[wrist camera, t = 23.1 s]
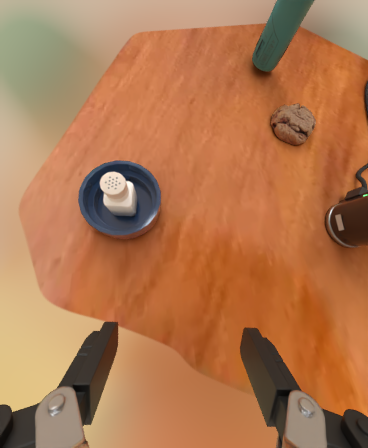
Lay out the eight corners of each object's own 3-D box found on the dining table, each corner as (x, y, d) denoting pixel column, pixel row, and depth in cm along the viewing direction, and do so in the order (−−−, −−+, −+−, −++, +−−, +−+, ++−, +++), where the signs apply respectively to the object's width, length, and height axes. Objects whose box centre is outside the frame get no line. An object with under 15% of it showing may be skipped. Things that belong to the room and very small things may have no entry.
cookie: (317, 130, 43) (329, 120, 40) (291, 153, 40) (301, 145, 37) (288, 101, 44) (298, 89, 41) (260, 122, 41) (268, 111, 38)
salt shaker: (112, 216, 31) (94, 196, 22) (115, 194, 32) (98, 167, 23) (136, 217, 32) (127, 198, 23) (138, 196, 33) (130, 170, 24)
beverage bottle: (276, 76, 45) (366, -66, 26) (254, 81, 43) (332, -65, 24) (265, 55, 46) (343, -96, 26) (243, 60, 44) (308, -97, 25)
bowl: (120, 163, 34) (114, 146, 29) (173, 200, 34) (175, 189, 29) (75, 212, 31) (60, 203, 26) (132, 253, 31) (127, 251, 26)
